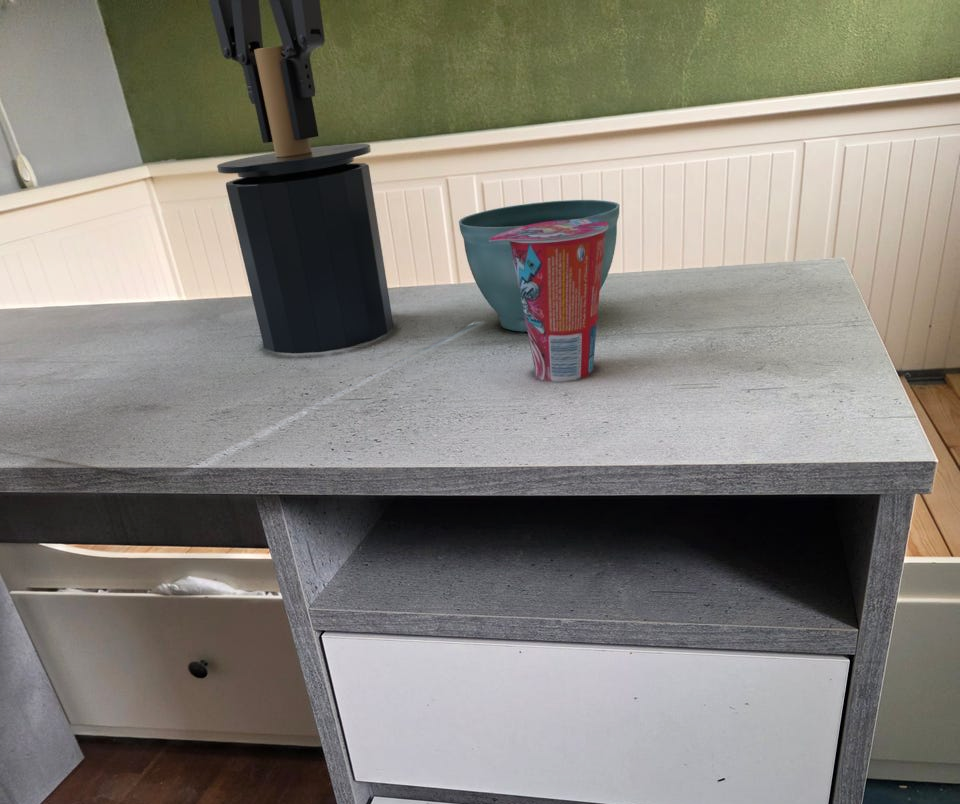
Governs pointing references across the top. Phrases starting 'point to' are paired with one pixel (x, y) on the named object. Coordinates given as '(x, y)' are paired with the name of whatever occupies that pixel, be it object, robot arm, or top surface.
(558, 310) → the cup
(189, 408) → the top surface
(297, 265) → the trash can
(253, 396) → the top surface
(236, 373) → the top surface
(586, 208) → the flower pot
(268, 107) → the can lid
